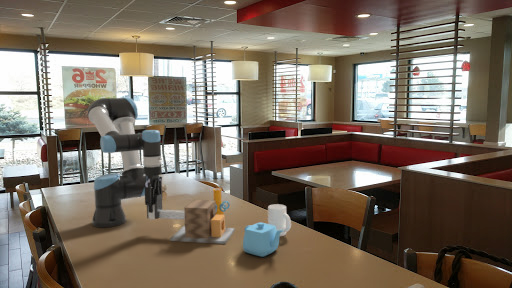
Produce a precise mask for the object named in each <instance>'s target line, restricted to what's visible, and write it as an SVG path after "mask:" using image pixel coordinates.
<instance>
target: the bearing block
mask: <svg viewBox="0 0 512 288" xmlns="http://www.w3.org/2000/svg"><path fill="white" fill-rule="evenodd" d="M183 211H184V213H185V219H184V225H183V226H182V227H181V228H180V229H178V230H177V231H176V232H175V233H174V234H173V235H172V236H171V237H170V238H169V239H170V242H171V241H173V242H174V241H175V242H185V243H187V242H189V243H206V244H207V243H208V244H220V245H221V244H223V245H226V244H227V242H228V241H229V239H230V238H231V236H232V235H233V233H234V232H235V227H234V228H233V227H225V232H224V234H223V235H222V236H221V237H212V233H211V220H212V218H213V217H214V216H215V215H216V203H215V201H211V200H206V199H205V200H203V199H193V200H192V201H190V203H188V204H187V205H186V206H184V209H183Z"/></svg>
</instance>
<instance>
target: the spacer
mask: <svg viewBox="0 0 512 288" xmlns="http://www.w3.org/2000/svg"><path fill="white" fill-rule="evenodd" d="M225 228H226V215H225V214H224V215H215V216H214V217H213V218H212V220H211V233H212V237H221V236H222V235H223V234H224V232H225Z"/></svg>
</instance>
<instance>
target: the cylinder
mask: <svg viewBox="0 0 512 288" xmlns="http://www.w3.org/2000/svg"><path fill="white" fill-rule="evenodd" d="M212 192H213V193H212V196H213V197H212V198H213V200H210V201H215V203H216V215H225V212H226V210H227V209H229V208H230V201H227V200H224V201H223V198H222V197H223V196H222V188H219V187H216V188H213V189H212ZM226 204H227V206H226Z"/></svg>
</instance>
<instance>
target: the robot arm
mask: <svg viewBox="0 0 512 288" xmlns="http://www.w3.org/2000/svg"><path fill="white" fill-rule="evenodd" d="M86 112H87V114H86V115H87V117H88V120H89V121H90V122H91V123H92V124H93V125H94V126H95V128H96V129H97V131H98V133H99V134H100V138H99V139H100V141H99V144H100V145H99V146H100V149H101V152H102V153H104V154H106V153H107V154H108V153H110V154H113V153H120V154H121V160H122V165H123V166H122V167H123V170H122V172H121V175H120V173H118V172H113V173H110V172H109V173H106V174H102V175H99V176H97V177H96V178H95V179H94V181H93V190H94V204H95V206H94V207H95V209H94V213H93V216H92V221H91V222H92V225H93V227H96V228H109V227H110V228H111V227H117V226H119V225H122V224H124V223H125V222H126V221H127V218H126V213H125V212H124V211H125V210H124V209H123V206H122V200H127V199H132V198H133V199H134V198H141V197H144V205H145V206H147V205H148V215H149V218H148V220H156V219H155V205H153V204H154V193H155V194H162V195H163V183H162V182H163V176H160V175H161V174H162V171H163V170H162V165H161V164H162V159H163V158H162V152H161V151H162V147H161V132H160V130H157V129H147V130H143V131H142V132H138V133H136V131H135V127H134V124H135V122H136V120H137V118H138V115H139V114H138V107H137V103H136V102H135V101H134V99H133V98H131V97H130V98H129V97H112V98H110V97H102V98H98V99H96V100H94V101H92V102H91V104H90V105H89V106H88V108H87V111H86ZM139 151H142V159H143V161H142V163H143V166H142V163H141V158H140V152H139Z"/></svg>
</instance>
